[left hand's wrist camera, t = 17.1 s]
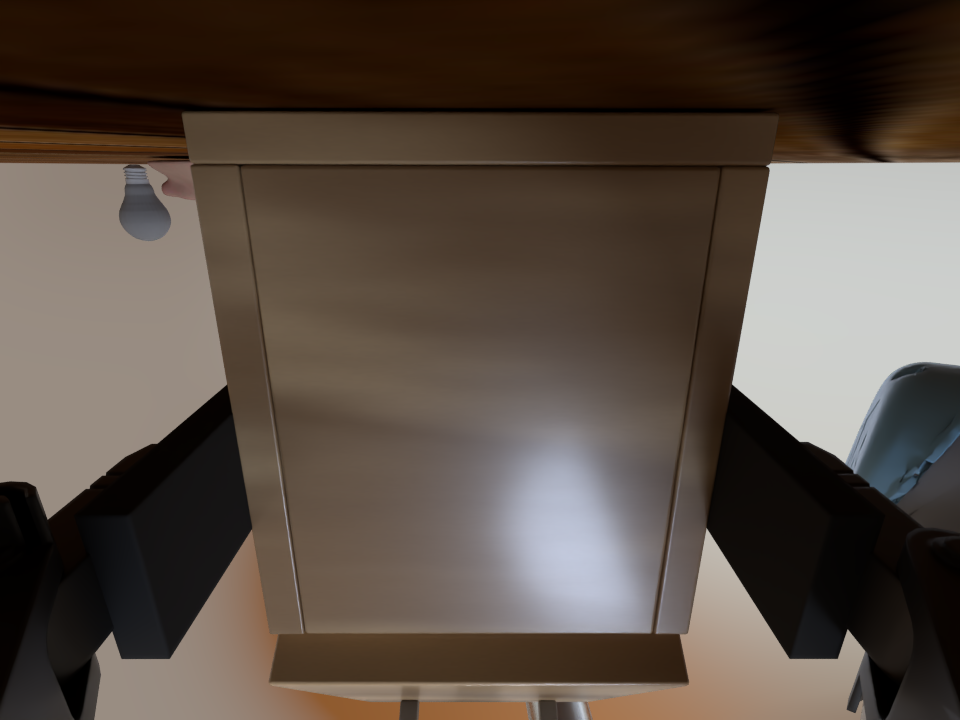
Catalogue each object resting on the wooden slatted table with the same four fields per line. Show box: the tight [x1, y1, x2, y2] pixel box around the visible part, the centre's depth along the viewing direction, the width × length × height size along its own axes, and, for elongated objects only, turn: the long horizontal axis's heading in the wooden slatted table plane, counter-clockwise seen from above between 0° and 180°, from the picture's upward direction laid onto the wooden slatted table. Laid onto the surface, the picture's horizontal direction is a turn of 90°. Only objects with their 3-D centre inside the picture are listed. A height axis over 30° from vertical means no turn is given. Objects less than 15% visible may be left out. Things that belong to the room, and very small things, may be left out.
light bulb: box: [119, 165, 171, 241], centre depth 70 cm, size 6×6×10 cm
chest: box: [182, 110, 779, 634], centre depth 16 cm, size 13×10×11 cm
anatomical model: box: [147, 160, 196, 200], centre depth 43 cm, size 13×4×12 cm
